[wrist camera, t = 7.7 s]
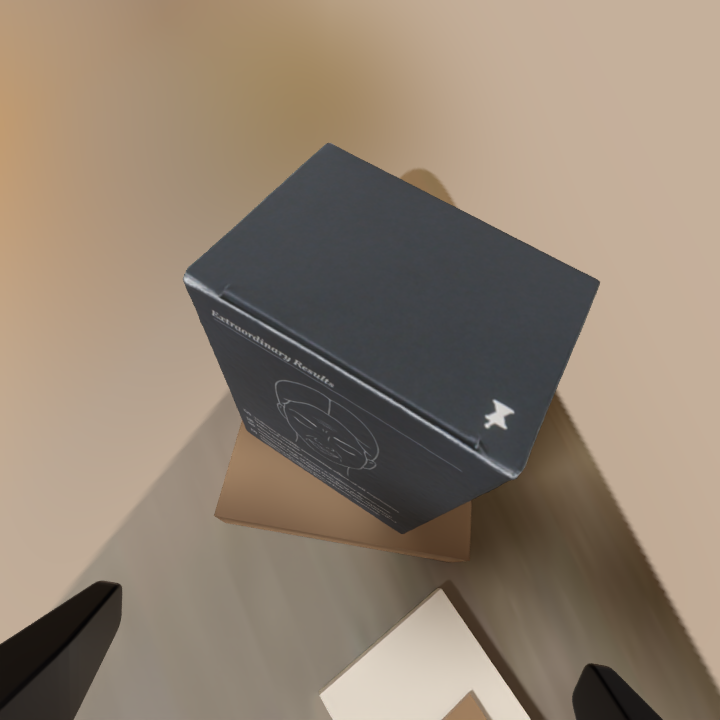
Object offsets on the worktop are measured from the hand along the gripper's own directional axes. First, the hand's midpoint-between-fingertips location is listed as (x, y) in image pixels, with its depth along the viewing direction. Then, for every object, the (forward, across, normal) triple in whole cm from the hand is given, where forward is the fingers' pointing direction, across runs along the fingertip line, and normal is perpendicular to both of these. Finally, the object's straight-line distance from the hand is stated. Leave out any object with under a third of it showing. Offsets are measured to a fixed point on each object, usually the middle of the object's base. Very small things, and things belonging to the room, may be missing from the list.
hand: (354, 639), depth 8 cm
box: (+11, 0, +1) cm, 11 cm away
